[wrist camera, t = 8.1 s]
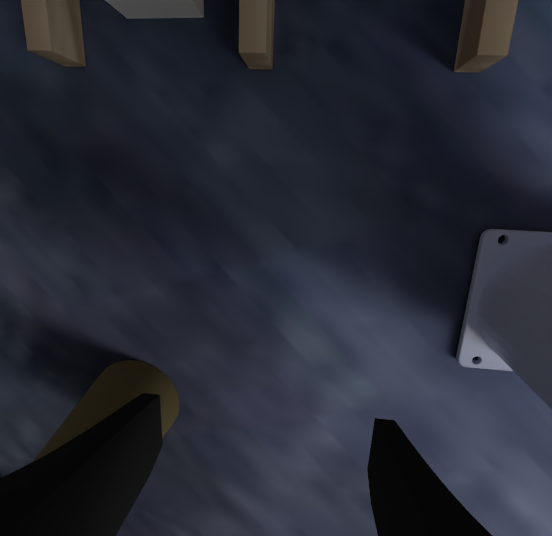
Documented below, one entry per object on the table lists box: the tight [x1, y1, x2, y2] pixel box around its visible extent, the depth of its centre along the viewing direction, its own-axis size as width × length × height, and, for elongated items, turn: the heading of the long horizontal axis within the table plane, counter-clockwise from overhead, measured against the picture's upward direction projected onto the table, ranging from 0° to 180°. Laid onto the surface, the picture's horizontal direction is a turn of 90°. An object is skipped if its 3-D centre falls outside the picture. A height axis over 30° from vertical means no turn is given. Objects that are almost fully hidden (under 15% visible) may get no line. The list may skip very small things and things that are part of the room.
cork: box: [33, 360, 179, 462], centre depth 19 cm, size 6×6×11 cm
